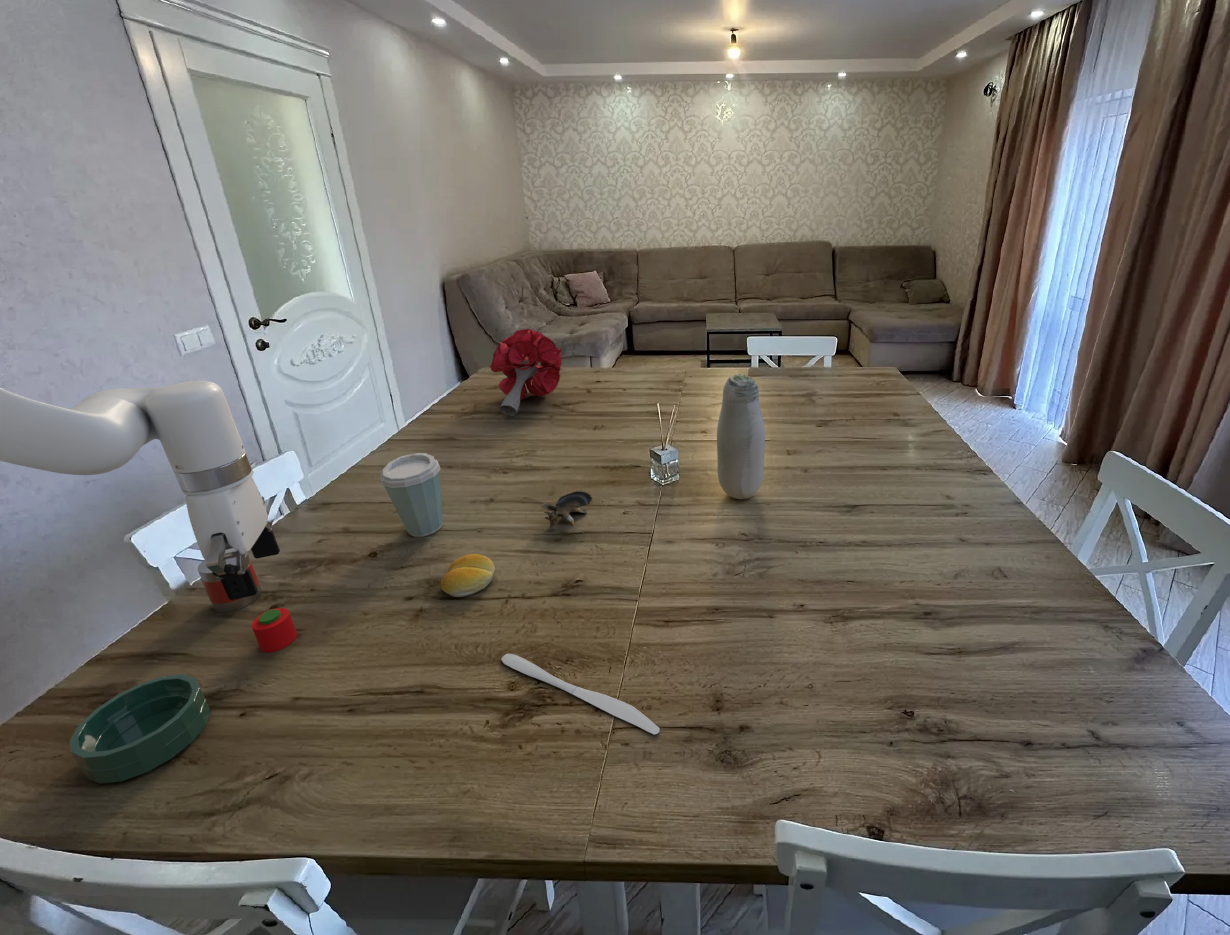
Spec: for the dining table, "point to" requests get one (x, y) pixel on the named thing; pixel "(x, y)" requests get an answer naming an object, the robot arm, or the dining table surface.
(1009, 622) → the dining table surface
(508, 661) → the butter knife
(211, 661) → the dining table surface
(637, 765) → the dining table surface
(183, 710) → the bowl
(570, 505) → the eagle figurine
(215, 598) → the can
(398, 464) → the disposable coffee cup
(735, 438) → the white bottle
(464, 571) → the bread roll
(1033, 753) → the dining table surface
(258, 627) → the red short cylinder
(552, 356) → the bouquet
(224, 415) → the robot arm
